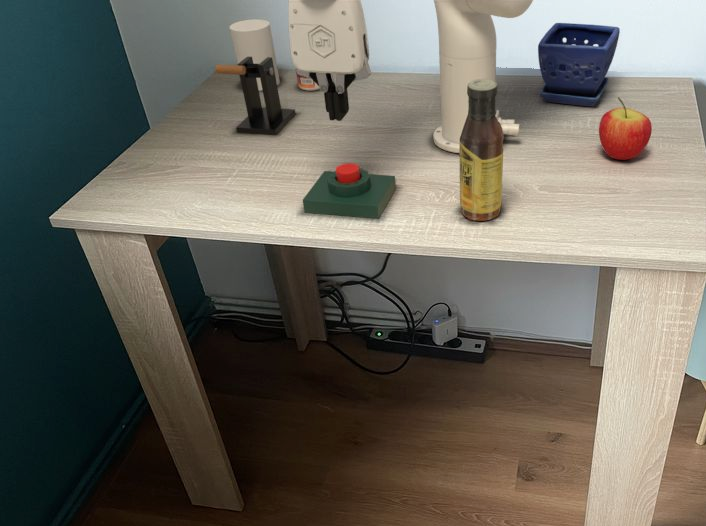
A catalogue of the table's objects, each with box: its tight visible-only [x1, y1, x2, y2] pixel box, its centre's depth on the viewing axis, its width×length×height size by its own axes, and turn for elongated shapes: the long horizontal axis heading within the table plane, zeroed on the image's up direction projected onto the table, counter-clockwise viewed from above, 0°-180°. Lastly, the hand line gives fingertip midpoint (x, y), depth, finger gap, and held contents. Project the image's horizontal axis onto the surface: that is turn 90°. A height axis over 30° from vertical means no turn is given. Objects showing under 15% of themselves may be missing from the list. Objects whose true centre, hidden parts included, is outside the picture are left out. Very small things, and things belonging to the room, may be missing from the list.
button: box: [335, 162, 360, 183], centre depth 112 cm, size 4×4×2 cm
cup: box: [229, 19, 281, 92], centre depth 153 cm, size 8×8×12 cm
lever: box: [214, 63, 260, 78], centre depth 129 cm, size 12×5×2 cm, turn 167°
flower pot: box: [537, 22, 621, 107], centre depth 141 cm, size 13×13×12 cm
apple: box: [598, 96, 653, 161], centre depth 120 cm, size 8×8×10 cm
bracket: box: [235, 56, 297, 136], centre depth 136 cm, size 10×8×12 cm
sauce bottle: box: [459, 79, 504, 222], centre depth 104 cm, size 6×6×20 cm
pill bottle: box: [294, 67, 320, 92], centre depth 151 cm, size 6×6×11 cm
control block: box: [302, 167, 397, 219], centre depth 114 cm, size 12×10×4 cm
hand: (338, 116), depth 106 cm, fingers closed
